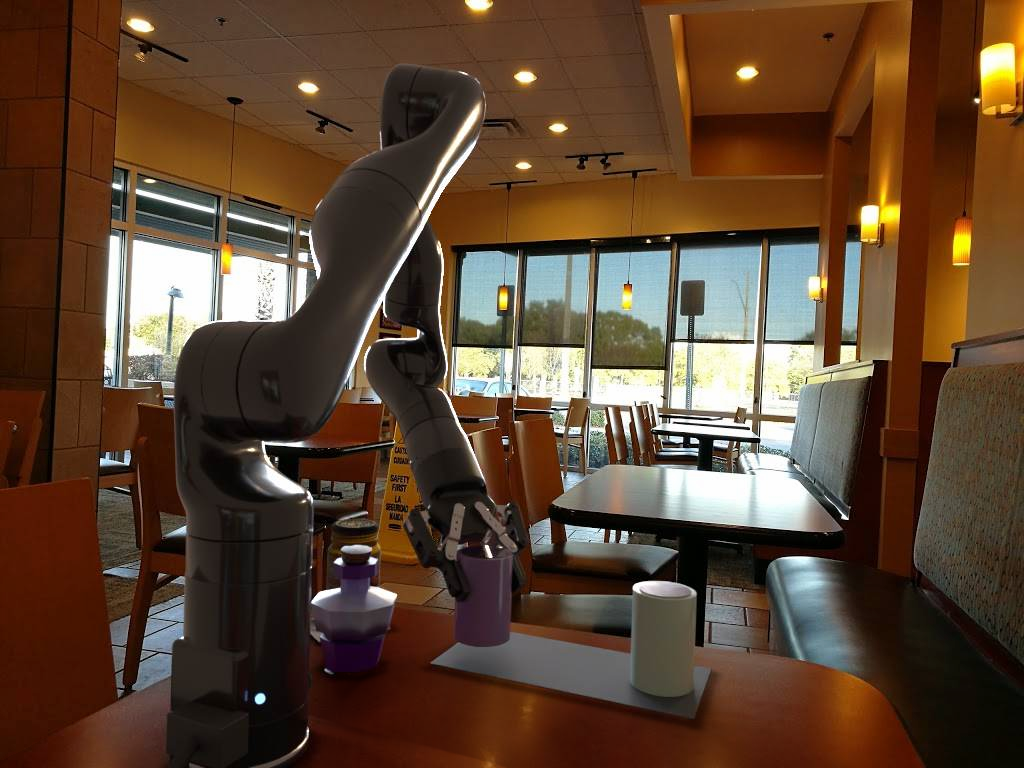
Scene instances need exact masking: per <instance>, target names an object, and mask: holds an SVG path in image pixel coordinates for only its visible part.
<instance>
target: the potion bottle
mask: <svg viewBox="0 0 1024 768" xmlns="http://www.w3.org/2000/svg"><path fill="white" fill-rule="evenodd" d="M371 552H372V548H371V547H368V546H363V545H353V546H344V547H342V549H341V558H337V559H336V561H335V562H334V566H333V575H334V576H336V577H339V578H341V586H340V588H337V589H332V590H328V591H327V590H323V591H318V593H317V594H316V596H315V597H314V598H313V599H311V614H312V618H314V623H315V628H316V632H318V631H319V632H322V635H321V636H320V646H321V650H322V656H323V661H324V665H325V668H324V672H325V673H328V674H329V675H330V676H332V675H333V674H335V673H337V672H339V673H361V672H364V671H367V670H369V669H373V668H376V667H377V666H378V664H379V661H380V659H381V654H382V650H383V647H384V642H385V638H386V635H387V633H388V631H389V630H390V629H389V627H390V628H391V622H392V618H393V614H394V610H395V606H396V602H397V598H398V594H397V593H395V592H392V591H390V590H387V589H385V588H381V587H380V588H379V587H372V586H370V577H374V576H375V575H376V573H377V572H378V559H375V558H372V557H370V556H371ZM388 629H389V630H388Z"/></svg>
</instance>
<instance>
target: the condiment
mask: <svg viewBox="0 0 1024 768" xmlns="http://www.w3.org/2000/svg"><path fill="white" fill-rule="evenodd" d="M378 531H379V524H378V523H377V522H376V521H374V520H372V519H365V518H347V519H341V520H337V521H334V523H332V526H331V537H330V541H331V543H330V545H329V546H328V548H327V556H326V557H327V558H326V559H327V561H326V562H327V564H326V591H328V590H332V589H337V588H340V586H341V578H339V577H336V576H334V575H333V566H334V562H335V561H336V559H337V558H341V549H342V547H344V546H353V545H363V546H368V547H371V548H372V552H371V556H370V557H372V558H375V559H378V572H377V573H376V575H375V576H374V577H370V586H372V587H379V588H381V585H380V583H381V558H382V552H381V551H382V549H381V545H380V544H379V542H378V540H379V533H378ZM391 629H392V627H391V626H390V627H389V629H388V631H389V630H391ZM321 635H322V632H319V631H318V632H316V628H315V623H314V618H313V617H311V623H310V636H312V637H313V638H314V639H315V640H317V642H318V643H321V641H320V636H321Z"/></svg>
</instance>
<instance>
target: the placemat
mask: <svg viewBox="0 0 1024 768" xmlns="http://www.w3.org/2000/svg"><path fill="white" fill-rule="evenodd" d="M429 664H430V665H434V666H439V667H443V668H449V669H453V670H456V671H463V672H466V673H471V674H472V673H473V674H478V675H481V676H486V677H492V678H496V679H499V680H505V681H510V682H514V683H519V684H524V685H529V686H533V687H538V688H543V689H548V690H552V691H557V692H562V693H566V694H571V695H576V696H581V697H585V698H590V699H595V700H600V701H605V702H610V703H615V704H618V705H623V706H629V707H632V708H637V709H641V710H647V711H651V712H656V713H661V714H666V715H671V716H674V717H675V716H676V717H681V718H686V719H689V720H695V717H696V714H697V712H698V709H699V706H700V704H701V700H702V697H703V696H704V692H705V689H706V687H707V685H708V681H709V679H710V676H711V673H712V670H713V669H712V668H711V667H706V666H699V665H695V664H694V682H693V690H692V691H691V692H690V693H688V694H686V695H683V696H678V697H662V696H655V695H651V694H647V693H644V692H642V691H640V690H638V689H636V688H635V687H634V686H632V684H631V683H630V653H629V652H625V651H618V650H612V649H608V648H607V649H606V648H601V647H596V646H595V647H594V646H590V645H584V644H580V643H573V642H568V641H564V640H557V639H553V638H546V637H541V636H535V635H531V634H525V633H519V632H513V631H511V632H510V639H509V641H508V642H506V643H504V644H502V645H499V646H493V647H473V646H468V645H464V644H462V643H459V642H458V641H457V643H455V644H454V645H453V646H451V647H450V648H449V649H447V650H446V651H444V652H443V653H442V654H440V655H439V656H438V657H437V658H435V659H434V660H432V661H430V662H429Z"/></svg>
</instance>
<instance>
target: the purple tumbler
mask: <svg viewBox="0 0 1024 768" xmlns="http://www.w3.org/2000/svg"><path fill="white" fill-rule="evenodd" d="M455 560H456V561H458V560H459V561H460V564H461V566H462V569H463V572H464V575H465V577H466V580H467V583H468V586H469V589H470V594H469V596H468V597H467V598H466V600H465V601H463V602H457V601H456V599H455V598H454V617H453V618H454V619H453V620H454V621H453V639H454V640H455V641H456V642H457V643H458V642H459V643H462V644H464V645H468V646H473V647H493V646H499V645H502V644H504V643H506V642H508V641H509V639H510V632H512V629H511V627H512V602H513V600H512V599H513V597H512V596H513V594H512V572H513V552H512V551H510V550H508V549H506V548H503V547H496V546H482V545H470V546H465V547H460V548H459V549H457V556H456V558H455Z"/></svg>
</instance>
